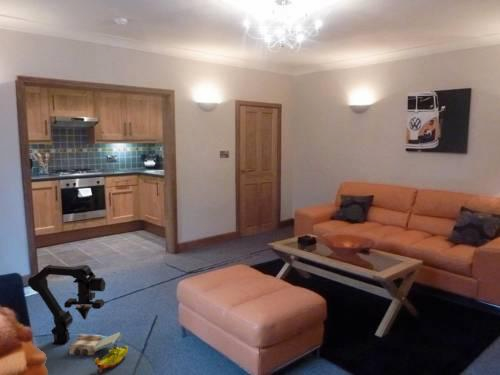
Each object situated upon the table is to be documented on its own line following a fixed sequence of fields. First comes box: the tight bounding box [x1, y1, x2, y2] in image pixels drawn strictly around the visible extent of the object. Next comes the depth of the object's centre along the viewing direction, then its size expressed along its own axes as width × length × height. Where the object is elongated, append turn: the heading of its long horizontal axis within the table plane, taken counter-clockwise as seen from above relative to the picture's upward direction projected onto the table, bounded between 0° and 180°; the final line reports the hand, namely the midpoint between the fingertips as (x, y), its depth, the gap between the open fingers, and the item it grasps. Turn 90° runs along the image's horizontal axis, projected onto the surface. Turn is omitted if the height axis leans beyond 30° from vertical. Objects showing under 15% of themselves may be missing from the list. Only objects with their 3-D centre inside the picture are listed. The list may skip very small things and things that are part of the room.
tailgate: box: [94, 332, 123, 352], centre depth 199 cm, size 2×10×12 cm
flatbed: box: [68, 333, 103, 356], centre depth 199 cm, size 12×11×5 cm
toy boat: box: [94, 343, 129, 374], centre depth 186 cm, size 6×18×10 cm, turn 152°
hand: (85, 319), depth 204 cm, fingers closed
